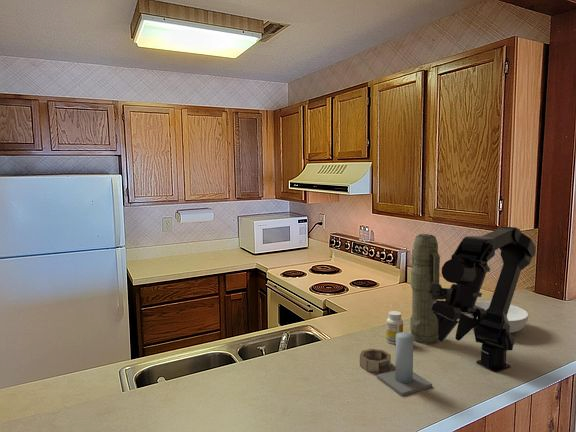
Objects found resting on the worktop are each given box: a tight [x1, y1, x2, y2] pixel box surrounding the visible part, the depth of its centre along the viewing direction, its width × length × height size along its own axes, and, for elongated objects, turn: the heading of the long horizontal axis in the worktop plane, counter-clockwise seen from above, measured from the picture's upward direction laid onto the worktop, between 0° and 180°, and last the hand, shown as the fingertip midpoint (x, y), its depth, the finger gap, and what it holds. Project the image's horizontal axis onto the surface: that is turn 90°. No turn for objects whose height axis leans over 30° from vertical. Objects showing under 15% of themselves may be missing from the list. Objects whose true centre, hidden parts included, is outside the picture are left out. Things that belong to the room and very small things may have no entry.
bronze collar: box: [359, 348, 392, 374], centre depth 114 cm, size 8×8×3 cm
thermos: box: [409, 233, 441, 345], centre depth 130 cm, size 9×12×35 cm
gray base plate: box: [376, 369, 433, 397], centre depth 104 cm, size 10×10×1 cm
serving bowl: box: [475, 300, 529, 334], centre depth 139 cm, size 21×21×7 cm
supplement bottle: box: [385, 310, 404, 345], centre depth 130 cm, size 5×5×10 cm
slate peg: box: [395, 331, 414, 384], centre depth 104 cm, size 4×4×12 cm
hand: (448, 340), depth 104 cm, fingers open, 9 cm apart
